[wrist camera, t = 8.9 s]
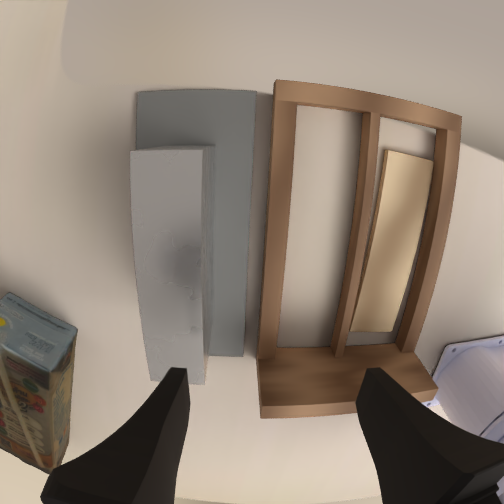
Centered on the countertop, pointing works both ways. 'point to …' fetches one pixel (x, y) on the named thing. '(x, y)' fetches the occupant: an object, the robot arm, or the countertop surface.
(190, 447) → the countertop surface
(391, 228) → the offcut top
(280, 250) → the rack
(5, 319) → the beverage carton
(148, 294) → the shiny grey metal block
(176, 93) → the mat
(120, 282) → the countertop surface
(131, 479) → the robot arm
